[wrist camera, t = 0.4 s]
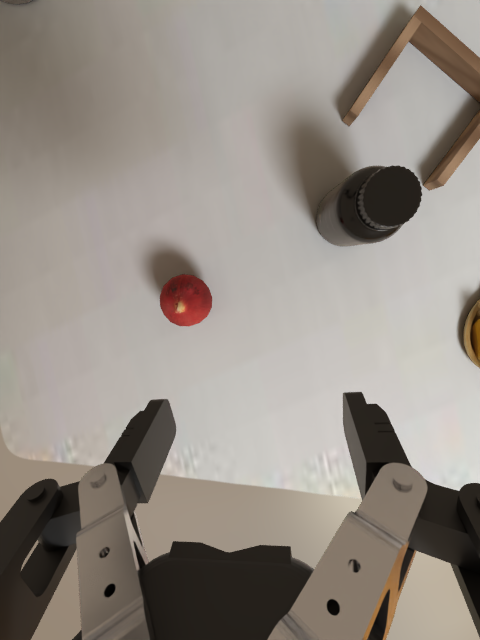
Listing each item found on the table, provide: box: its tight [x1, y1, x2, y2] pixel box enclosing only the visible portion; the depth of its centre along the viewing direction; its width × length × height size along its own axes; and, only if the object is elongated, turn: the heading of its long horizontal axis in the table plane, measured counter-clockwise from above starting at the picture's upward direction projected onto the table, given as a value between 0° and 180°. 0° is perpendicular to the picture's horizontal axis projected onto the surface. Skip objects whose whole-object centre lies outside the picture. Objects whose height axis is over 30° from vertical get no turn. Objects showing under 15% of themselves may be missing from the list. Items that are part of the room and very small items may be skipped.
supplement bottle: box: [316, 166, 422, 246], centre depth 30 cm, size 7×7×12 cm
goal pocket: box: [342, 5, 480, 190], centre depth 32 cm, size 11×13×2 cm
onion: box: [160, 274, 212, 326], centre depth 34 cm, size 6×6×8 cm
